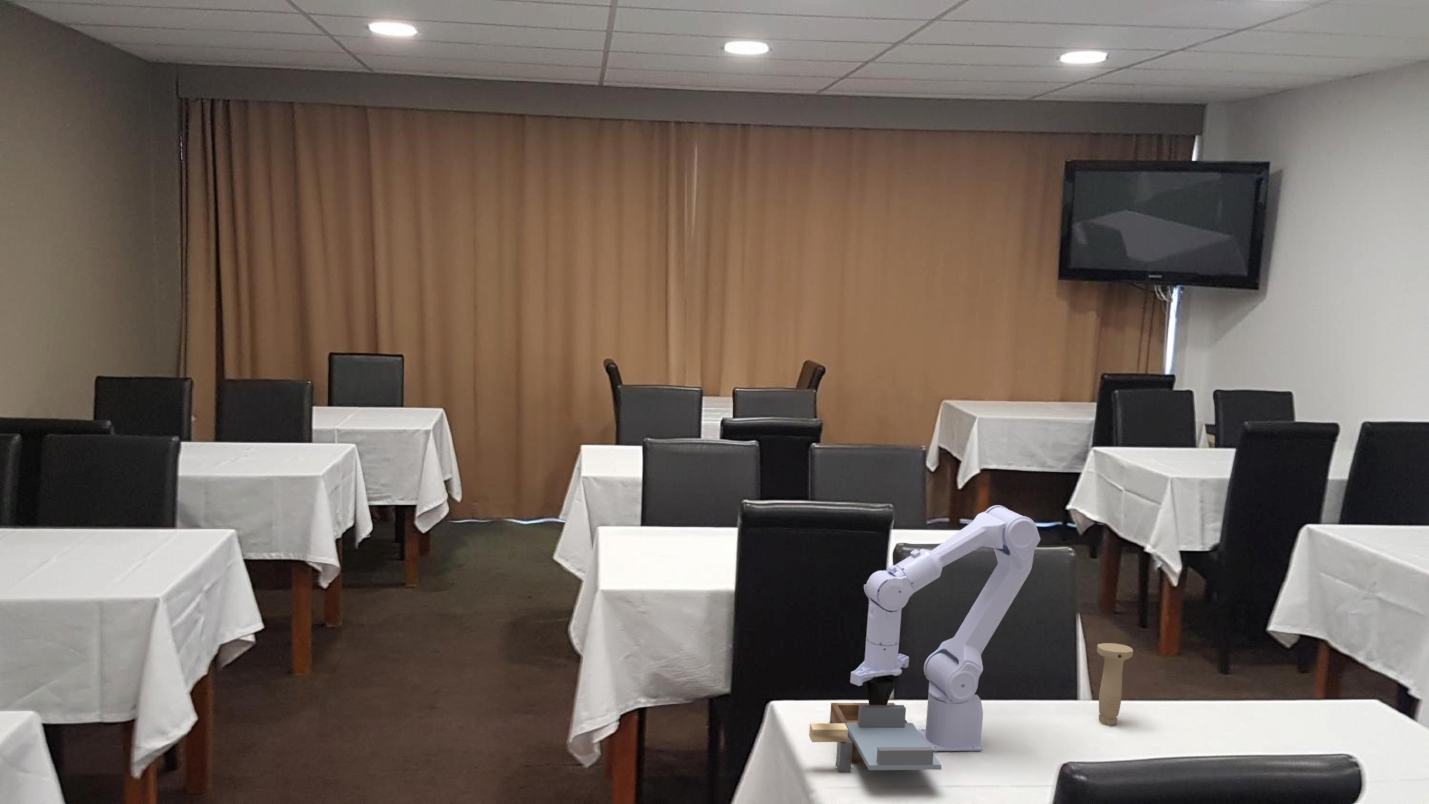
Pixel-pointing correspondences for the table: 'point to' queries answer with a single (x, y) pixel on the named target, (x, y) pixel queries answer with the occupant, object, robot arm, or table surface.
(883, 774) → the table surface
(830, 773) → the table surface
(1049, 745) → the table surface
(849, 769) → the block
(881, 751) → the lid
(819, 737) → the tan wooden block
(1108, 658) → the handle
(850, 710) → the brown wooden shallow box
